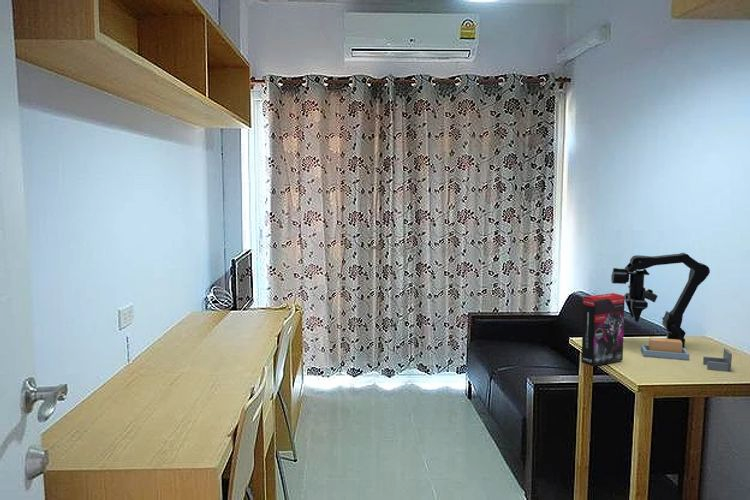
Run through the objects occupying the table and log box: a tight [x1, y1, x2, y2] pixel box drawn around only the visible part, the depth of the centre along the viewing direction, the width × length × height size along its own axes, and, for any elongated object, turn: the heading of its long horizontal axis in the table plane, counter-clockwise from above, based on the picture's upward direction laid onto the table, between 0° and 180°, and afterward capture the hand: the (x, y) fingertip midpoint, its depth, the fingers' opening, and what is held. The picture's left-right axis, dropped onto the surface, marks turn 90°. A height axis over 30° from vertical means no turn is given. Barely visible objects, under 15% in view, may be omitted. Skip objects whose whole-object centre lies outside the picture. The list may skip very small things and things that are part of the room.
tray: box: [640, 344, 690, 361], centre depth 254 cm, size 17×10×2 cm, turn 73°
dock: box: [702, 347, 733, 373], centre depth 237 cm, size 8×8×7 cm
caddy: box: [648, 336, 682, 353], centre depth 254 cm, size 12×5×6 cm, turn 73°
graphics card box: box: [581, 292, 626, 367], centre depth 242 cm, size 17×7×27 cm, turn 117°
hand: (634, 319), depth 267 cm, fingers open, 9 cm apart
